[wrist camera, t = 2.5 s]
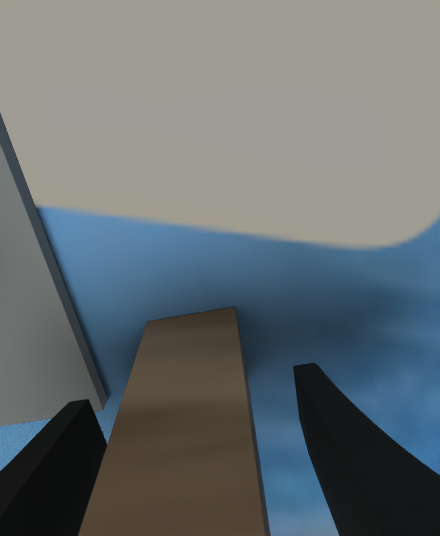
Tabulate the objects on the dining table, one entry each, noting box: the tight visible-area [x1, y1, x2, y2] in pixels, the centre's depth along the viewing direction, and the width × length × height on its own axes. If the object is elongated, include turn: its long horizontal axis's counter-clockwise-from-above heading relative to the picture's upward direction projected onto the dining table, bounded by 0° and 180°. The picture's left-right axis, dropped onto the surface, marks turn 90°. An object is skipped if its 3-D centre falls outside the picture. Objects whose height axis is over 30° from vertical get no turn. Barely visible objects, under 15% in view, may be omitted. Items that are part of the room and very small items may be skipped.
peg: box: [78, 307, 271, 536], centre depth 9 cm, size 3×3×9 cm
